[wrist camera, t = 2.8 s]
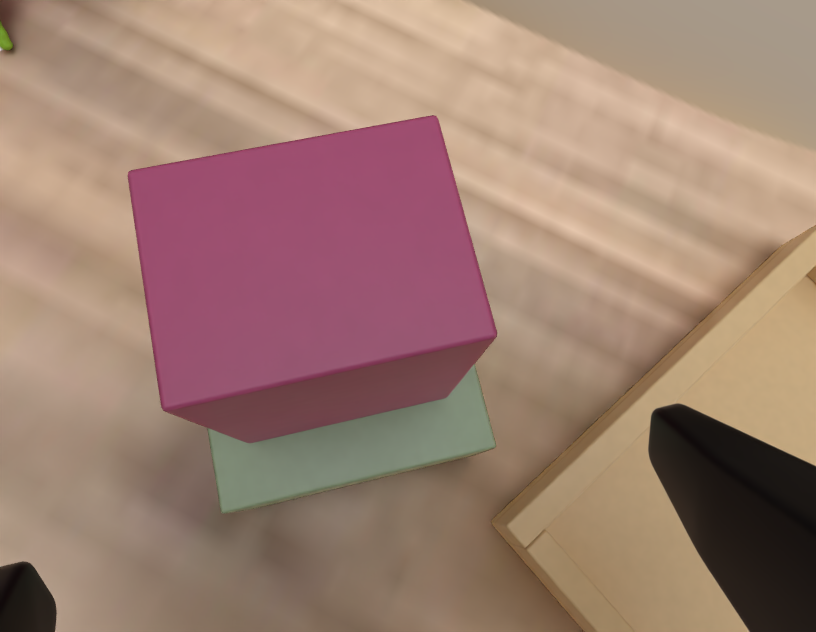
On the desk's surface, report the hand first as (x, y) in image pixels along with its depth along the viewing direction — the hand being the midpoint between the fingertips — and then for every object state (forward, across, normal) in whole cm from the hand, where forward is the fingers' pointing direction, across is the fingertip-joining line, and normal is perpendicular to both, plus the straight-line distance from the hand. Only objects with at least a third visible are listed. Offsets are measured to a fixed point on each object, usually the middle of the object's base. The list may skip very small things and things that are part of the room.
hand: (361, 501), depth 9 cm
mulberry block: (+8, 0, +2) cm, 8 cm away
